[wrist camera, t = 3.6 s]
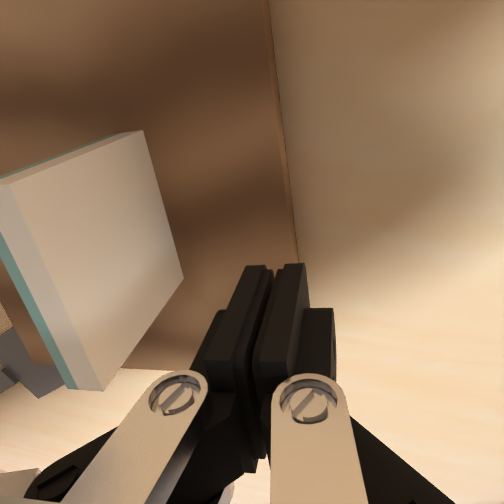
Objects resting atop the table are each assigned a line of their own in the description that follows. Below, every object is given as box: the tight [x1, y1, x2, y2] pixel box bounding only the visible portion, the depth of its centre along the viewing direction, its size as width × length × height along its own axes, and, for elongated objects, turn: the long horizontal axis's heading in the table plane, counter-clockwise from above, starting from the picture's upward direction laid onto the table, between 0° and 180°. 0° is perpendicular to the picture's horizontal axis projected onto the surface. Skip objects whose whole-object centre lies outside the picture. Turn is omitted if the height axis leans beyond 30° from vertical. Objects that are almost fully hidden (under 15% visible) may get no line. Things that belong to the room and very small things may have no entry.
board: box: [0, 0, 299, 371], centre depth 21 cm, size 22×20×2 cm
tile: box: [0, 130, 184, 391], centre depth 16 cm, size 8×2×8 cm, turn 9°
